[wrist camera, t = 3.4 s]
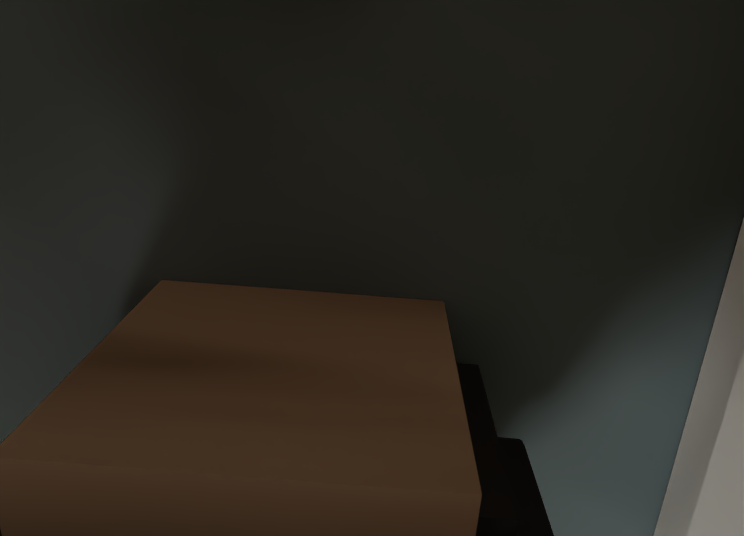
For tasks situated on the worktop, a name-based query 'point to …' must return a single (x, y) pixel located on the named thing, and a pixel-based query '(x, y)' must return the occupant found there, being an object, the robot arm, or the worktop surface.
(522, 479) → the robot arm
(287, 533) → the walnut block
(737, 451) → the tray
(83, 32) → the worktop surface
